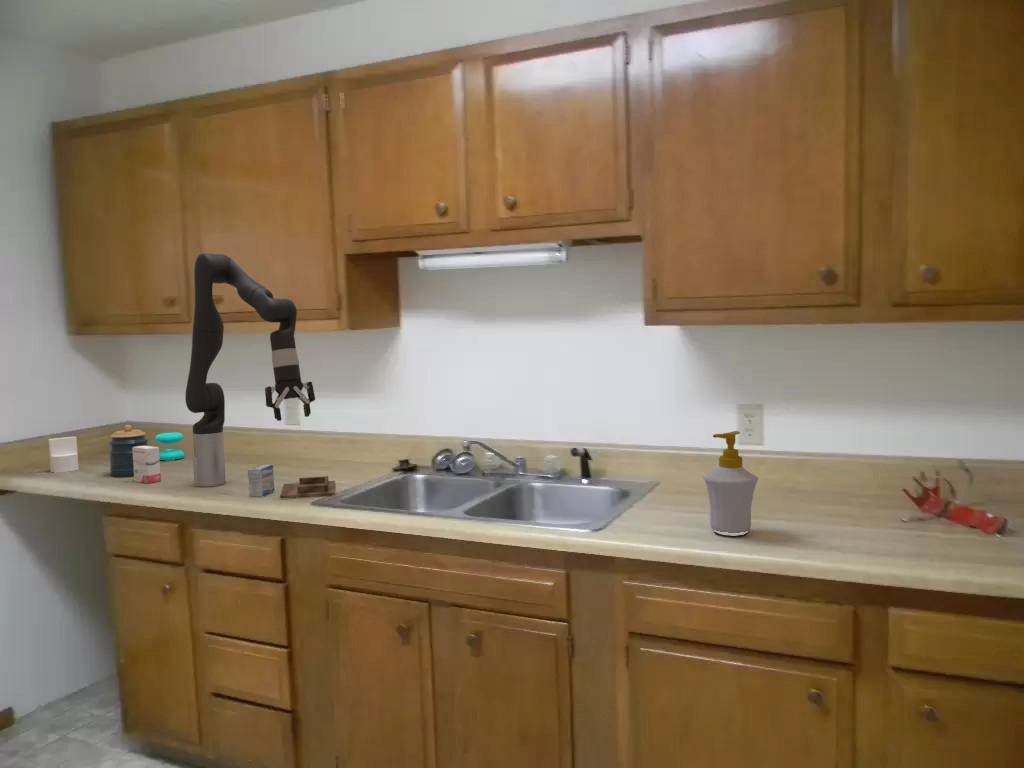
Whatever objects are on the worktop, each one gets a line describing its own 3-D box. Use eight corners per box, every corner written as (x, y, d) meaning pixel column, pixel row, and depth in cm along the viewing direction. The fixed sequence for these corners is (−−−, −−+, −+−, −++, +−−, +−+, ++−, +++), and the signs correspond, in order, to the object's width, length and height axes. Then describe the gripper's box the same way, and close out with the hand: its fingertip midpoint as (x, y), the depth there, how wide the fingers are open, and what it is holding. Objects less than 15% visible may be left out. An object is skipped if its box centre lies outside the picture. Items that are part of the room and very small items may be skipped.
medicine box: (262, 497, 248) (260, 469, 247) (248, 497, 248) (247, 469, 248) (274, 491, 255) (273, 464, 254) (261, 491, 256) (260, 464, 255)
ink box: (161, 481, 275) (159, 446, 274) (148, 483, 271) (146, 448, 270) (146, 478, 280) (144, 444, 279) (133, 481, 276) (131, 446, 275)
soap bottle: (692, 531, 200) (692, 431, 198) (729, 523, 206) (729, 426, 204) (731, 543, 189) (731, 437, 187) (769, 534, 196) (769, 432, 193)
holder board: (280, 499, 244) (279, 489, 244) (284, 486, 262) (283, 477, 262) (334, 495, 248) (334, 485, 247) (335, 483, 265) (334, 474, 265)
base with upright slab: (76, 467, 305) (74, 435, 304) (80, 470, 298) (78, 438, 297) (48, 470, 300) (46, 438, 299) (52, 474, 293) (50, 440, 292)
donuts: (161, 432, 323) (186, 431, 323) (163, 457, 323) (188, 456, 324) (150, 436, 313) (177, 435, 313) (152, 461, 313) (178, 461, 314)
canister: (146, 469, 299) (144, 421, 297) (154, 474, 288) (151, 424, 286) (107, 473, 291) (104, 424, 290) (113, 479, 281) (110, 428, 279)
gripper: (304, 363, 251) (311, 416, 251) (258, 368, 243) (265, 422, 243) (313, 361, 245) (320, 415, 245) (266, 366, 237) (273, 421, 237)
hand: (293, 418), depth 244 cm, fingers open, 8 cm apart
